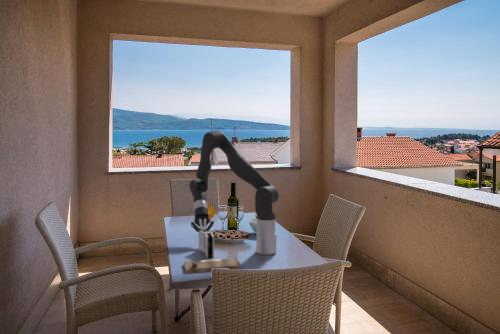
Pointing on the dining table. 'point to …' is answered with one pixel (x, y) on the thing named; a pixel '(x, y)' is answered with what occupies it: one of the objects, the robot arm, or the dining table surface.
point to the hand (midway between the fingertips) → (203, 238)
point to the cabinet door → (211, 265)
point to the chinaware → (253, 224)
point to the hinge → (206, 243)
